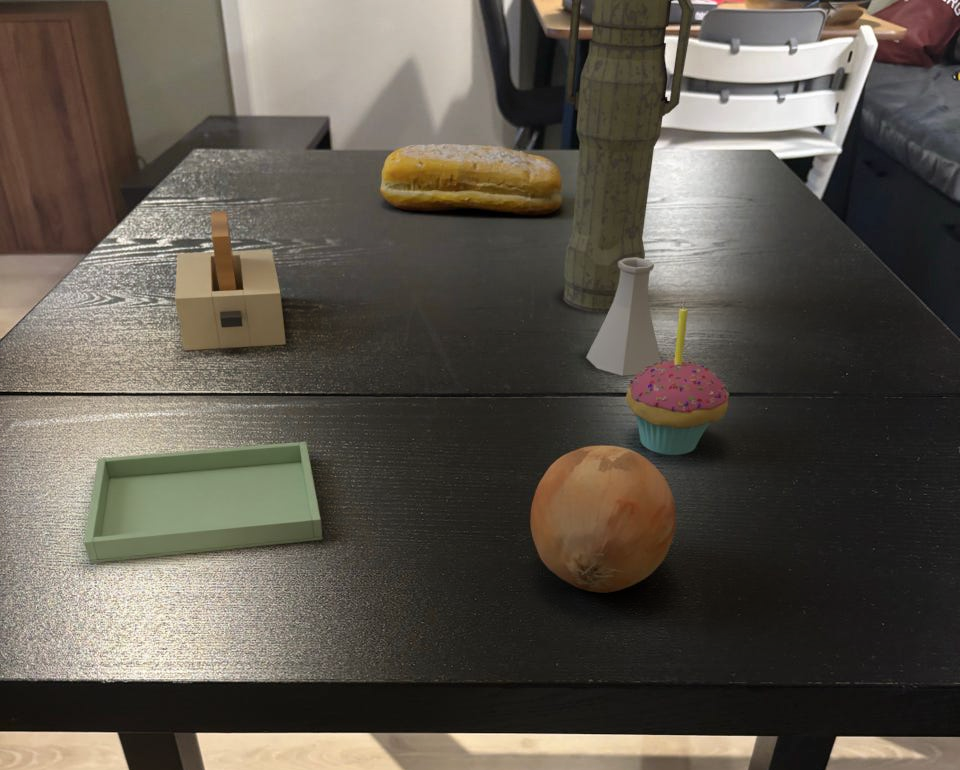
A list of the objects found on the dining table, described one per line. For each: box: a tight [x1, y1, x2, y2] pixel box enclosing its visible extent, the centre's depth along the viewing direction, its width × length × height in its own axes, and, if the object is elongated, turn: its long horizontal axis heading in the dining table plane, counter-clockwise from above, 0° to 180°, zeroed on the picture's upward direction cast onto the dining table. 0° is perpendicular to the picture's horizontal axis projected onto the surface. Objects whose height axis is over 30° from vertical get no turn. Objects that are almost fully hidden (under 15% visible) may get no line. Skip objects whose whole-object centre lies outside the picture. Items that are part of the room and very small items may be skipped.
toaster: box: [174, 249, 287, 352], centre depth 97 cm, size 16×10×6 cm, turn 13°
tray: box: [83, 441, 324, 564], centre depth 71 cm, size 16×12×2 cm
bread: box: [379, 143, 563, 216], centre depth 136 cm, size 13×26×8 cm, turn 91°
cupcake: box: [625, 298, 730, 456], centre depth 78 cm, size 9×8×12 cm
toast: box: [210, 209, 238, 291], centre depth 96 cm, size 9×2×10 cm, turn 13°
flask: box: [585, 257, 662, 377], centre depth 92 cm, size 7×7×10 cm
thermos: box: [562, 0, 695, 314], centre depth 98 cm, size 9×12×35 cm
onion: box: [529, 444, 677, 594], centre depth 63 cm, size 10×10×10 cm
